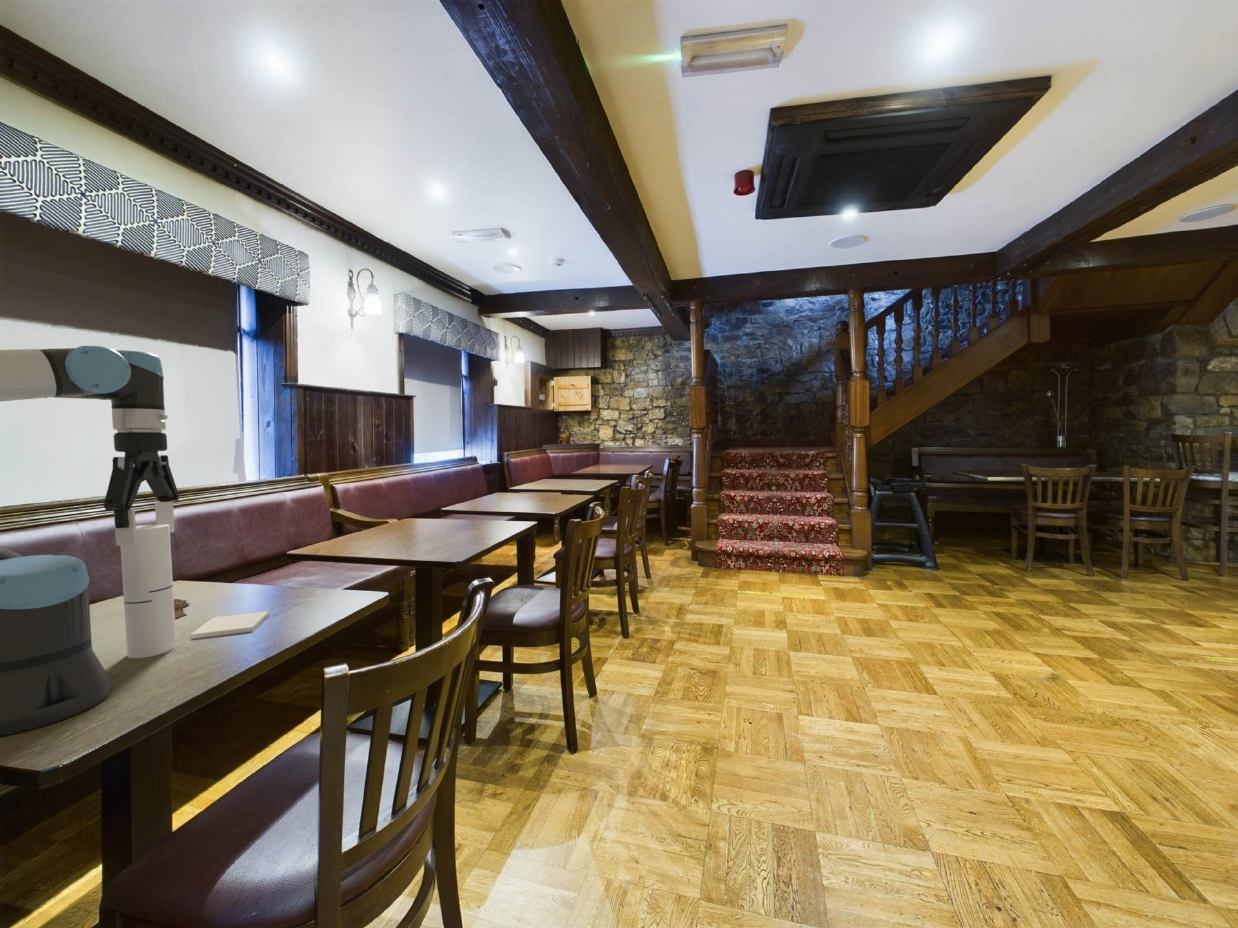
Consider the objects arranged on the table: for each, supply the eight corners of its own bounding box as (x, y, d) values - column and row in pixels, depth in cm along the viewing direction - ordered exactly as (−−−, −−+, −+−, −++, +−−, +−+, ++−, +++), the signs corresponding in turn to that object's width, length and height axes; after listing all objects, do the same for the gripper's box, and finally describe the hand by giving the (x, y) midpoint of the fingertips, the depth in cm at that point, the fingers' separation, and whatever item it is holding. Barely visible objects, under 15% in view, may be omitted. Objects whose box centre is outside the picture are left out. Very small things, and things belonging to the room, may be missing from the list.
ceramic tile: (252, 631, 108) (252, 626, 108) (190, 638, 105) (190, 634, 105) (269, 615, 119) (269, 611, 119) (213, 621, 115) (213, 617, 115)
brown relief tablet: (185, 620, 116) (185, 616, 116) (120, 632, 110) (119, 628, 110) (191, 595, 137) (191, 592, 137) (136, 604, 130) (136, 600, 130)
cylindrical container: (181, 647, 100) (174, 525, 99) (133, 661, 94) (125, 531, 93) (169, 640, 104) (162, 523, 103) (122, 653, 98) (114, 528, 97)
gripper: (126, 429, 87) (133, 549, 88) (194, 432, 110) (200, 526, 111) (70, 430, 84) (78, 553, 85) (152, 433, 108) (158, 529, 109)
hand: (147, 538), depth 98 cm, fingers open, 13 cm apart
